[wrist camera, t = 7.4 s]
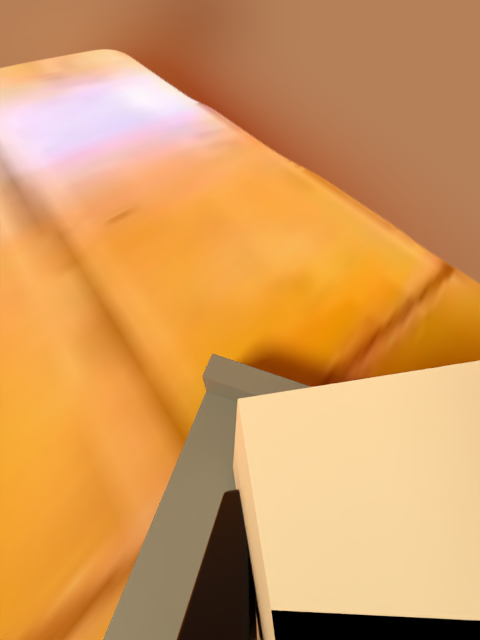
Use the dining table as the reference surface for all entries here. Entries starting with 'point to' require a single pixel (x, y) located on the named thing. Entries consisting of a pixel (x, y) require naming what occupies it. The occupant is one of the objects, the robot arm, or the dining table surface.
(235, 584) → the robot arm
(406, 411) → the cream rectangular block
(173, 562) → the offcut rack
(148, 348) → the dining table surface
